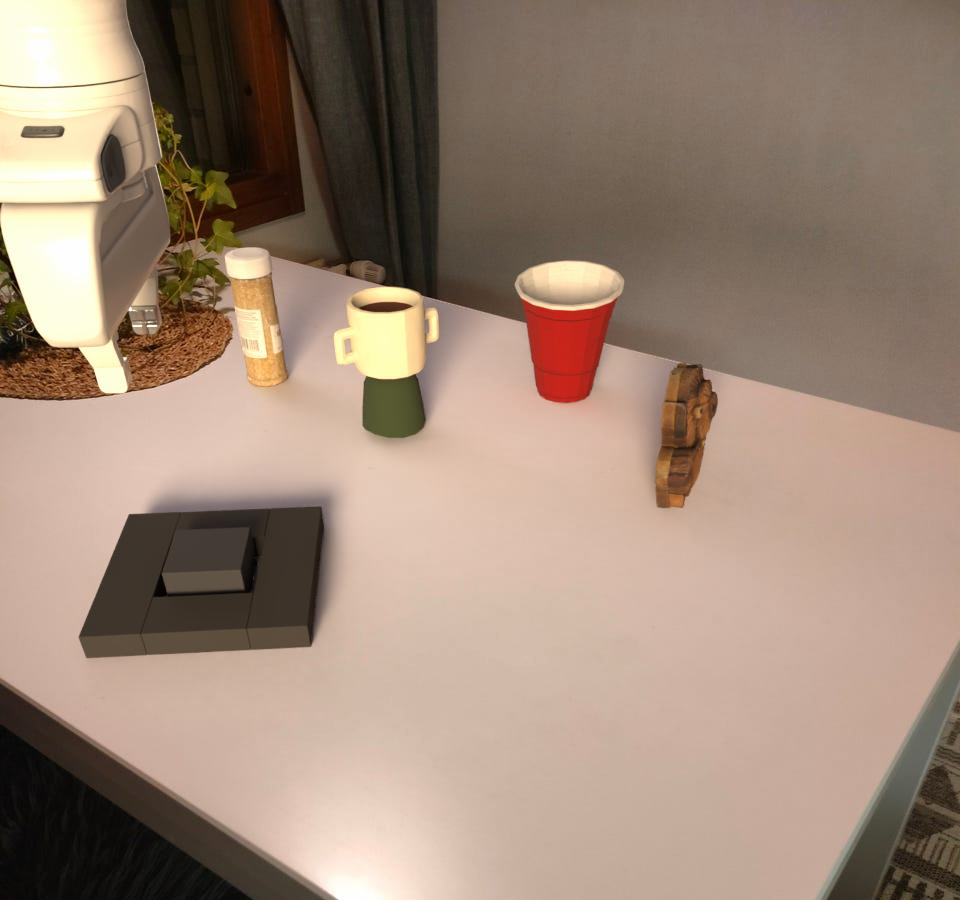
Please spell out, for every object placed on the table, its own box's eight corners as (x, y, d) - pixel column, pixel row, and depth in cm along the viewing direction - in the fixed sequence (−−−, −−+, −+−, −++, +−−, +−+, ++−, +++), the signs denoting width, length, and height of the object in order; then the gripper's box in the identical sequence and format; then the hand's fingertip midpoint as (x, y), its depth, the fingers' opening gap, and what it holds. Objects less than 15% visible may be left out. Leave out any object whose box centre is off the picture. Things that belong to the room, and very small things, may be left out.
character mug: (423, 402, 96) (417, 276, 88) (459, 429, 92) (456, 299, 83) (329, 429, 92) (313, 299, 83) (362, 459, 87) (348, 324, 79)
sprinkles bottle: (296, 379, 101) (278, 252, 92) (261, 391, 98) (240, 263, 90) (272, 366, 103) (253, 242, 95) (238, 378, 101) (214, 252, 92)
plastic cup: (497, 404, 96) (498, 289, 88) (533, 364, 103) (536, 254, 95) (597, 423, 92) (607, 304, 85) (626, 380, 100) (637, 267, 92)
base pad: (86, 658, 65) (77, 637, 64) (134, 533, 78) (128, 513, 76) (311, 647, 66) (307, 626, 65) (324, 525, 78) (321, 505, 77)
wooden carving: (700, 532, 77) (720, 424, 71) (646, 525, 78) (660, 418, 72) (707, 440, 90) (724, 341, 83) (660, 436, 90) (673, 337, 84)
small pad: (171, 610, 70) (161, 573, 67) (185, 566, 74) (175, 529, 72) (248, 607, 70) (240, 569, 68) (257, 562, 74) (250, 526, 72)
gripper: (72, 96, 61) (122, 302, 70) (-41, 177, 46) (42, 428, 55) (168, 96, 62) (206, 301, 71) (88, 176, 46) (149, 426, 55)
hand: (134, 358), depth 63 cm, fingers open, 8 cm apart
